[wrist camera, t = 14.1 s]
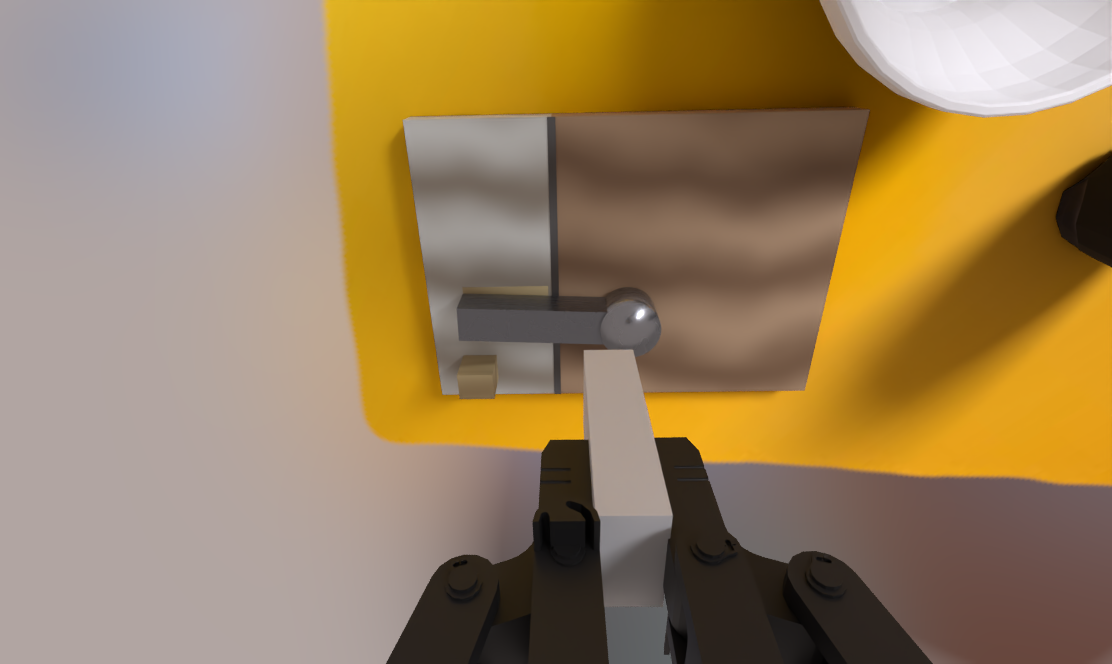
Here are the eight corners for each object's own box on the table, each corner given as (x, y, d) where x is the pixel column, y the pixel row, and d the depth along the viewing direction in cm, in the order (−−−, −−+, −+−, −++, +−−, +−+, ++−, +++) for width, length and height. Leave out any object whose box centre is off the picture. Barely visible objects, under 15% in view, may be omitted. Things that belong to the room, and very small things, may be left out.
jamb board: (411, 116, 34) (389, 125, 30) (853, 106, 33) (896, 114, 29) (447, 380, 43) (434, 416, 39) (794, 376, 43) (820, 411, 38)
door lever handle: (657, 287, 37) (664, 304, 34) (651, 338, 38) (657, 358, 36) (462, 282, 37) (455, 299, 34) (465, 334, 38) (458, 353, 36)
